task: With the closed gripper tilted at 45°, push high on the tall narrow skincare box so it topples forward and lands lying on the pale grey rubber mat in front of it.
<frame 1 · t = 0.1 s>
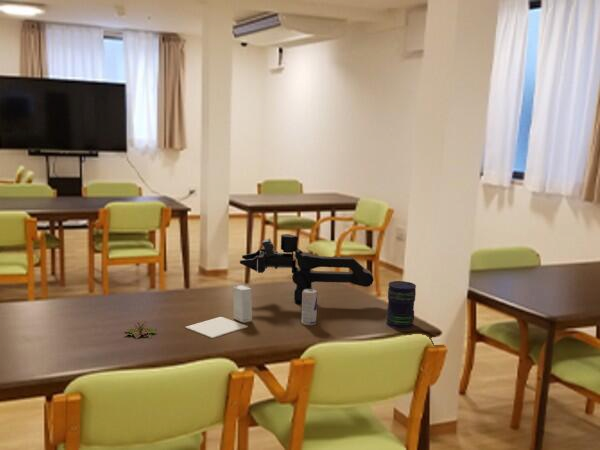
hand: (241, 259, 239), 17 cm above the table, tool horizontal, fingers open, 9 cm apart
energy drink: (308, 323, 216), on the table
mat: (216, 327, 208), on the table
skincare box: (242, 320, 217), on the table
storage jar: (399, 325, 218), on the table
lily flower: (141, 335, 200), on the table
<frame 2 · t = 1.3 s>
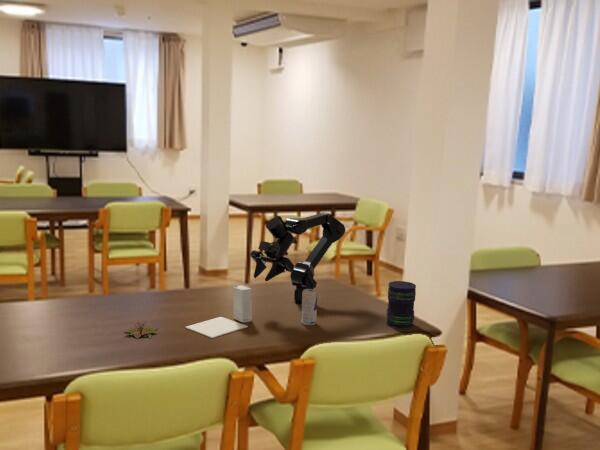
hand: (259, 279, 221), 14 cm above the table, tool tilted 45°, fingers open, 6 cm apart
nothing on the table moved.
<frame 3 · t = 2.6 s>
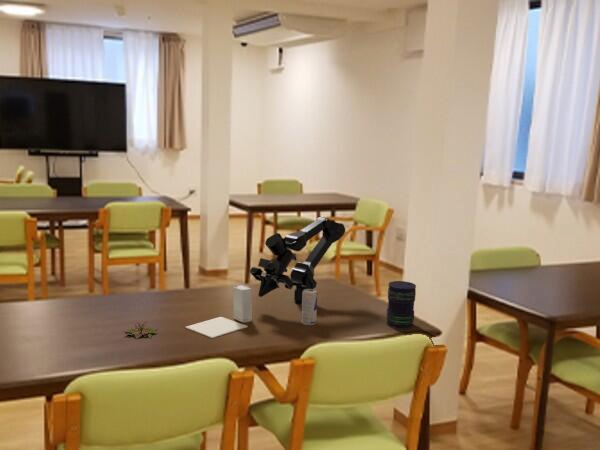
hand: (259, 296, 222), 7 cm above the table, tool tilted 45°, fingers closed
nothing on the table moved.
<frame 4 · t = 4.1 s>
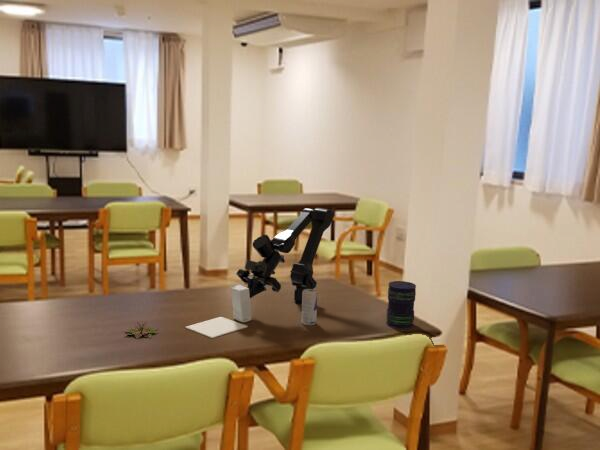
hand: (246, 299, 217), 7 cm above the table, tool tilted 45°, fingers closed
skincare box: (242, 319, 217), on the table, touching gripper
everything else where it was.
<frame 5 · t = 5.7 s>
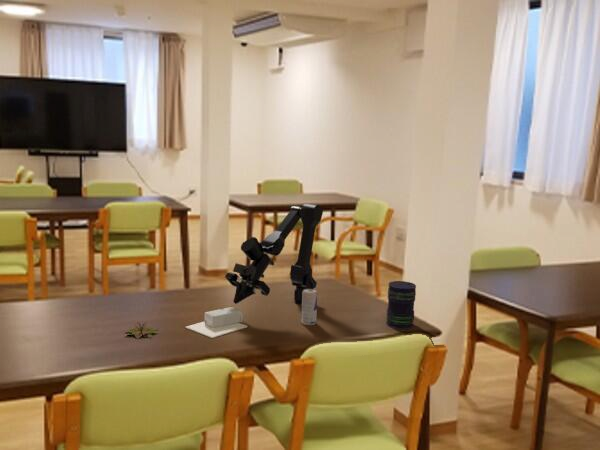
hand: (234, 303, 213), 7 cm above the table, tool tilted 45°, fingers closed
skincare box: (238, 314, 215), point 2 cm above the table, touching mat
everything else where it was.
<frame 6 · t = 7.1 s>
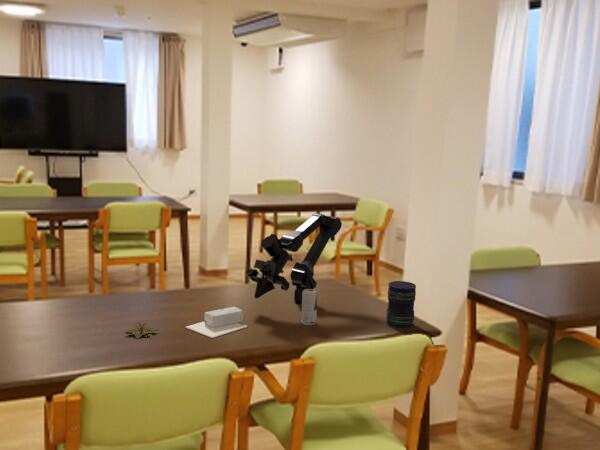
hand: (255, 297, 221), 7 cm above the table, tool tilted 45°, fingers closed
nothing on the table moved.
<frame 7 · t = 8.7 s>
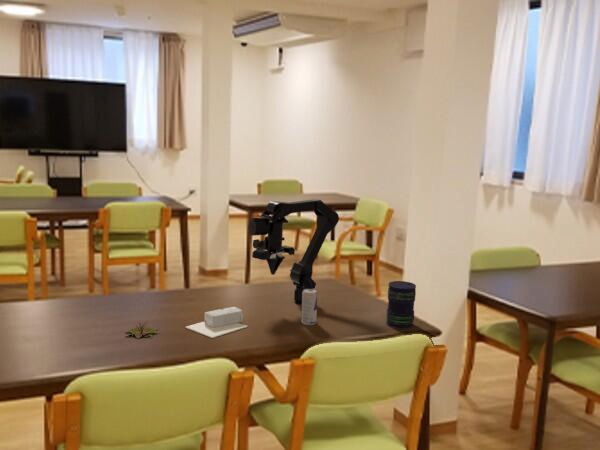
hand: (272, 274, 231), 13 cm above the table, tool pointing down, fingers closed
nothing on the table moved.
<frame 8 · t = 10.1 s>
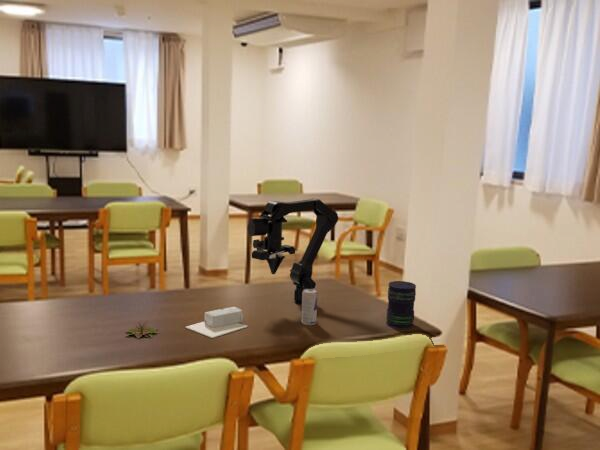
hand: (273, 274, 231), 13 cm above the table, tool pointing down, fingers closed
nothing on the table moved.
at the end: skincare box tilted 89°; skincare box touching mat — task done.
